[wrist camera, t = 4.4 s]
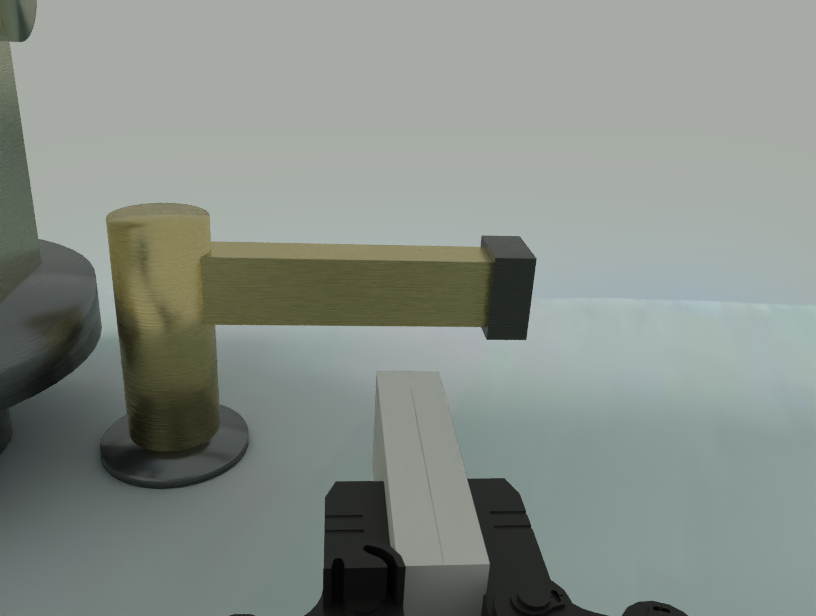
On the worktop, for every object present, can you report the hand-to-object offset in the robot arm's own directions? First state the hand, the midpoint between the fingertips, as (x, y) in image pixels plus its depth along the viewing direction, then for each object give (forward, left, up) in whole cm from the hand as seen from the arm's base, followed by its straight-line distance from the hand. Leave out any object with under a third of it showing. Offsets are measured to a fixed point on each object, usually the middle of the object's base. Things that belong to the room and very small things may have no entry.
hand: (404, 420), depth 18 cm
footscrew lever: (-2, +9, -5) cm, 10 cm away
